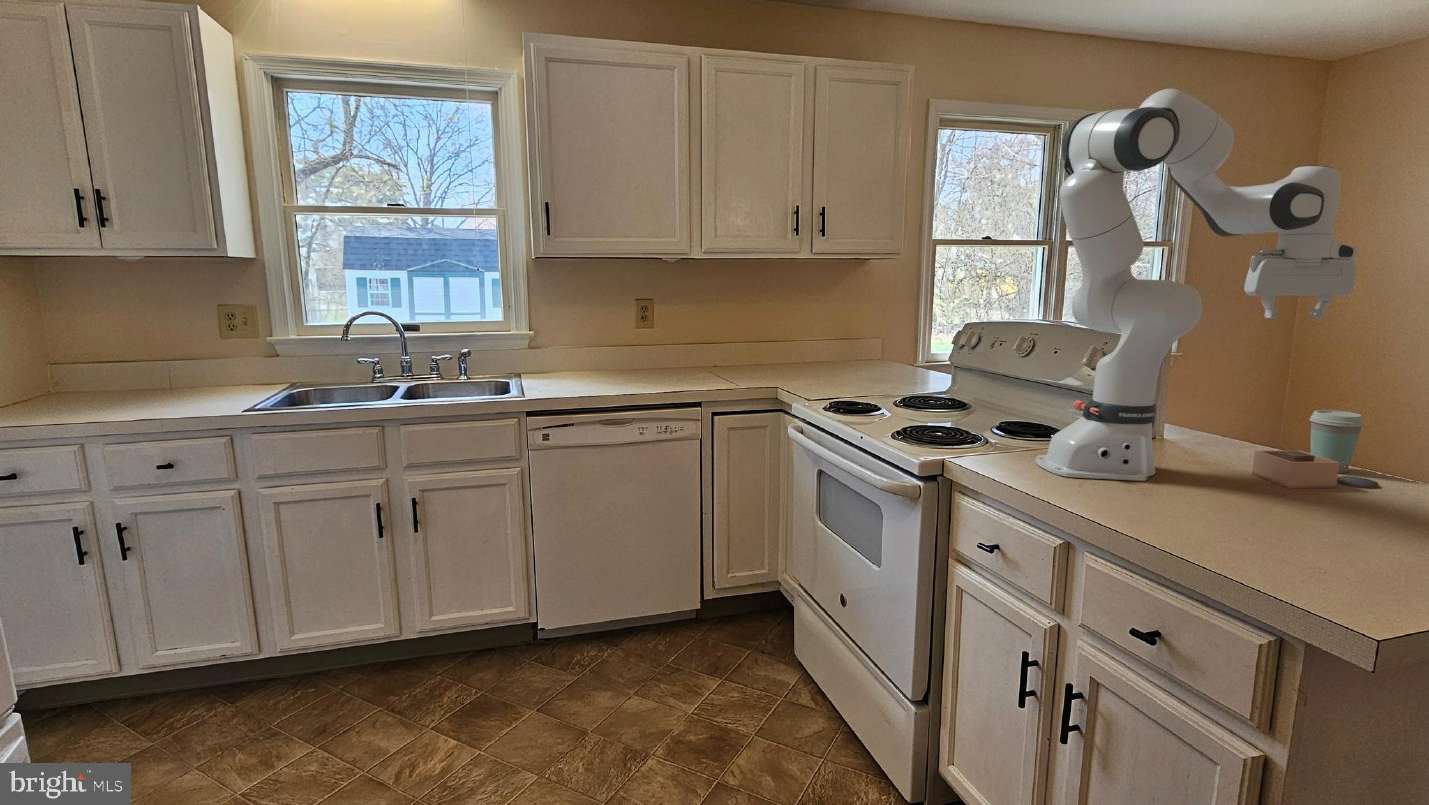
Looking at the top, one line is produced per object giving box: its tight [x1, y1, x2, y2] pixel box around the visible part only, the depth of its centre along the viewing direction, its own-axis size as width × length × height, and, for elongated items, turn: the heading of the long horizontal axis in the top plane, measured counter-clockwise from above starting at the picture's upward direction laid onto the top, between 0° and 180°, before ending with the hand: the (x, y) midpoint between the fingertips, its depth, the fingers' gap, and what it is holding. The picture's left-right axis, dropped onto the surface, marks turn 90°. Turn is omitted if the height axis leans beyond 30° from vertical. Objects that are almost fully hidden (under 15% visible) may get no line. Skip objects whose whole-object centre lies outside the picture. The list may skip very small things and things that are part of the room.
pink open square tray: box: [1251, 449, 1340, 489], centre depth 140 cm, size 9×9×5 cm
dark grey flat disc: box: [1337, 475, 1379, 490], centre depth 139 cm, size 6×6×1 cm
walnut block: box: [1277, 450, 1315, 462], centre depth 140 cm, size 4×4×5 cm
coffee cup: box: [1309, 409, 1365, 474], centre depth 148 cm, size 9×8×12 cm
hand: (1293, 317), depth 148 cm, fingers open, 8 cm apart
